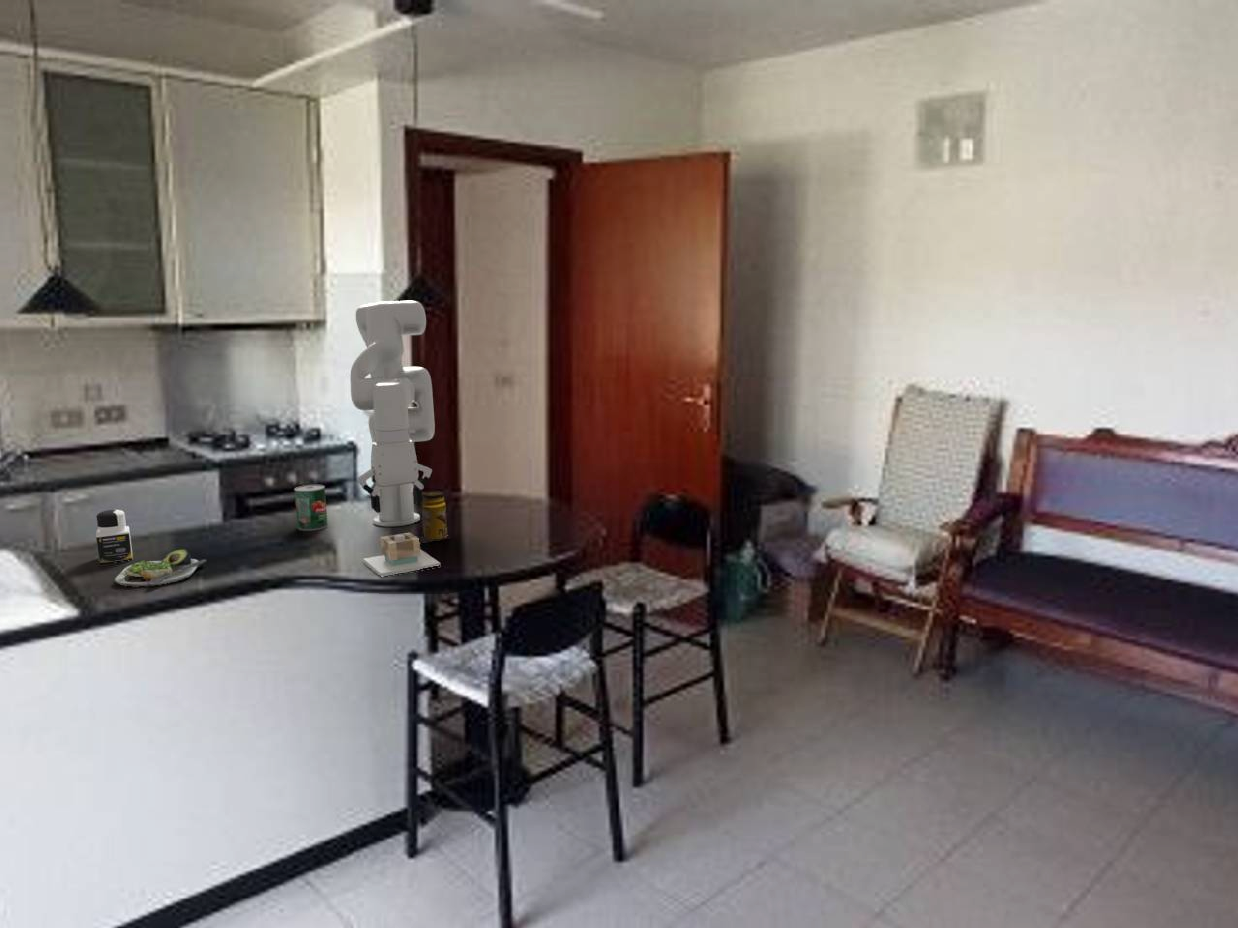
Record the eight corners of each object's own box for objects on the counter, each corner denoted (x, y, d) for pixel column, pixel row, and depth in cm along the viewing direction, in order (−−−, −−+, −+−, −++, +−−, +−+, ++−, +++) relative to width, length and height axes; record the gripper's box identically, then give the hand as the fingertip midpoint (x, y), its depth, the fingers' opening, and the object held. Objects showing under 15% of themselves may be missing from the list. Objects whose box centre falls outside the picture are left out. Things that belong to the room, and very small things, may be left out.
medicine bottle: (99, 564, 226) (92, 516, 224) (100, 557, 232) (93, 510, 230) (132, 560, 229) (126, 512, 227) (132, 553, 235) (126, 506, 233)
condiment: (453, 539, 242) (450, 493, 239) (422, 544, 237) (419, 498, 235) (442, 533, 248) (439, 488, 245) (411, 538, 243) (408, 493, 241)
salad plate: (190, 588, 207) (188, 568, 207) (103, 595, 204) (100, 574, 203) (210, 563, 226) (208, 545, 225) (130, 569, 223) (128, 550, 222)
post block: (363, 562, 223) (361, 534, 221) (420, 552, 230) (418, 525, 228) (381, 577, 211) (378, 547, 209) (440, 566, 218) (438, 537, 216)
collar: (381, 553, 221) (380, 537, 220) (410, 548, 224) (409, 532, 224) (390, 560, 215) (389, 543, 214) (420, 555, 218) (419, 538, 218)
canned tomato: (327, 529, 254) (323, 489, 252) (296, 531, 252) (292, 491, 250) (328, 522, 262) (325, 483, 260) (299, 524, 260) (295, 485, 258)
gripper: (423, 429, 222) (427, 499, 226) (350, 437, 213) (356, 510, 217) (434, 434, 216) (438, 506, 219) (359, 443, 207) (365, 517, 211)
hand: (397, 508), depth 218 cm, fingers open, 9 cm apart
